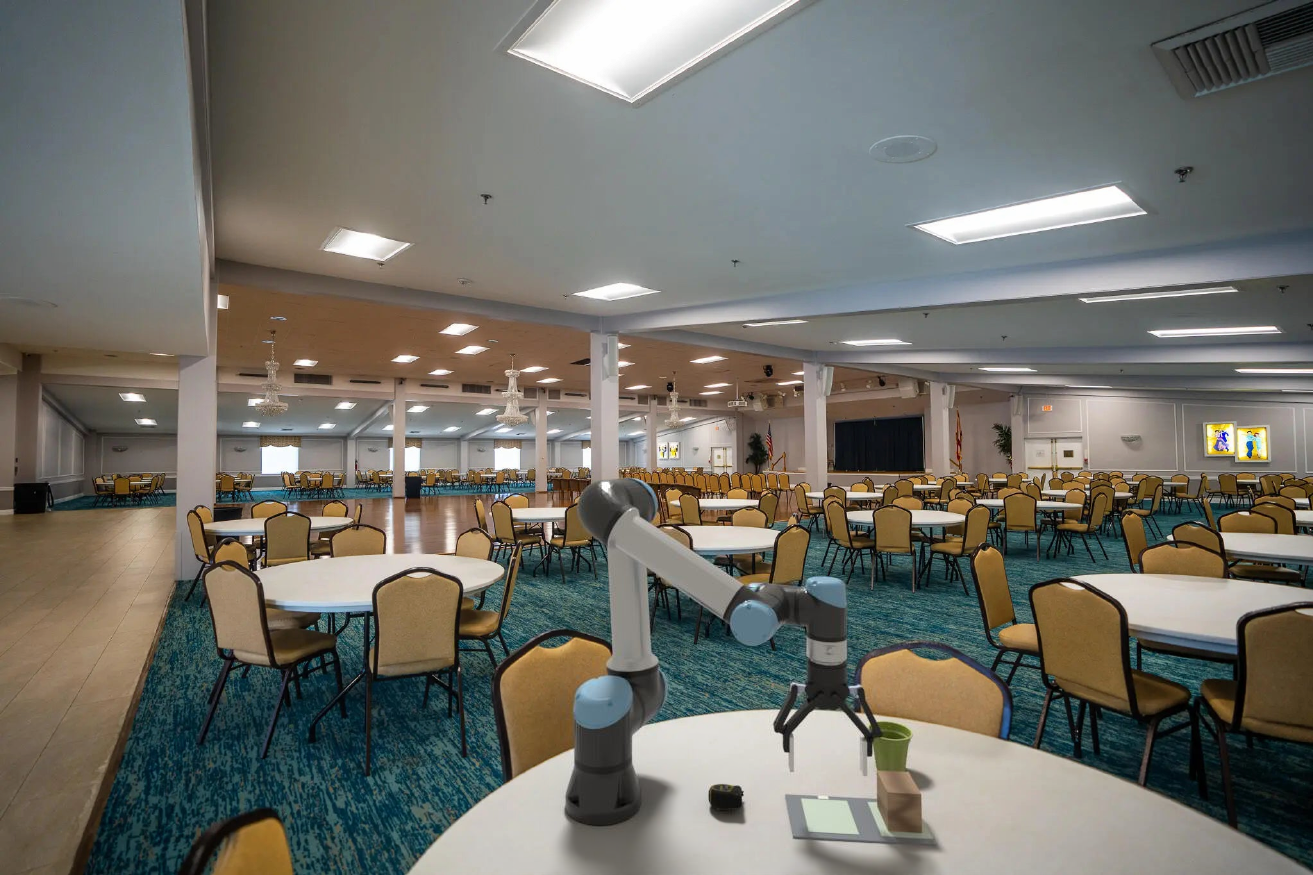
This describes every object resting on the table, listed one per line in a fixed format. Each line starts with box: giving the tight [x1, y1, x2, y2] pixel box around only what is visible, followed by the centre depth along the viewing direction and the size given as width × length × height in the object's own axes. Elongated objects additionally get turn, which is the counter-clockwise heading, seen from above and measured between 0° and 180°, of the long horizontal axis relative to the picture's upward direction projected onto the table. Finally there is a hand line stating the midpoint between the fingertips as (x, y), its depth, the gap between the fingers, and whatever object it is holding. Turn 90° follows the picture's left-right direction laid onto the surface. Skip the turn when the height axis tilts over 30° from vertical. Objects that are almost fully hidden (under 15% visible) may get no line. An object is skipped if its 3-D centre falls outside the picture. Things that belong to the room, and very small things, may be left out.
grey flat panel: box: [784, 793, 937, 847], centre depth 118 cm, size 25×14×1 cm, turn 84°
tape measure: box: [708, 783, 744, 811], centre depth 123 cm, size 7×7×4 cm
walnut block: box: [876, 769, 923, 833], centre depth 117 cm, size 6×8×7 cm
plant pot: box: [867, 720, 914, 772], centre depth 138 cm, size 9×9×9 cm
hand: (827, 770), depth 119 cm, fingers open, 13 cm apart
